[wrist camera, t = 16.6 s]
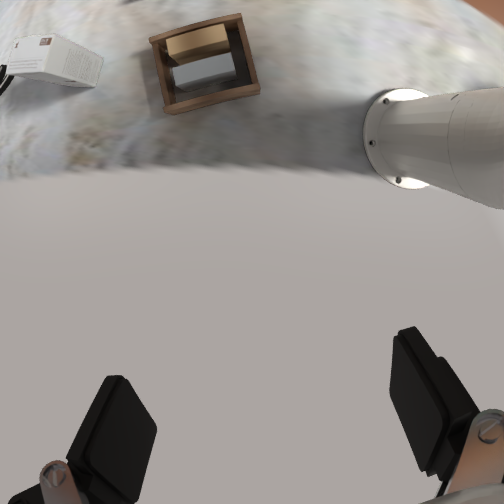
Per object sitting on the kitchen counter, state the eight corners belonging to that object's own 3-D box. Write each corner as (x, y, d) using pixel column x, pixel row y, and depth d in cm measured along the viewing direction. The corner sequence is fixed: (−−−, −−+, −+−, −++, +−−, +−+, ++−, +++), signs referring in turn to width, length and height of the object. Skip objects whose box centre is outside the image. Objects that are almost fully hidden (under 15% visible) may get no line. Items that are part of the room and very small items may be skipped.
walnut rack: (227, -28, 25) (225, -43, 22) (259, 93, 31) (260, 88, 28) (149, -6, 26) (138, -18, 23) (173, 115, 32) (164, 112, 29)
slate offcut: (234, 63, 30) (230, 52, 26) (237, 79, 31) (235, 70, 26) (182, 76, 31) (171, 68, 26) (186, 92, 31) (175, 85, 27)
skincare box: (61, 86, 30) (1, 78, 19) (70, 54, 29) (13, 37, 17) (98, 88, 31) (40, 76, 19) (107, 55, 29) (53, 32, 18)
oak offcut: (227, 37, 29) (223, 23, 24) (231, 52, 30) (227, 39, 25) (177, 51, 30) (165, 39, 25) (180, 65, 30) (169, 55, 26)
